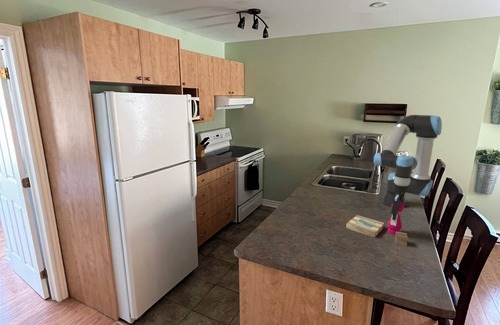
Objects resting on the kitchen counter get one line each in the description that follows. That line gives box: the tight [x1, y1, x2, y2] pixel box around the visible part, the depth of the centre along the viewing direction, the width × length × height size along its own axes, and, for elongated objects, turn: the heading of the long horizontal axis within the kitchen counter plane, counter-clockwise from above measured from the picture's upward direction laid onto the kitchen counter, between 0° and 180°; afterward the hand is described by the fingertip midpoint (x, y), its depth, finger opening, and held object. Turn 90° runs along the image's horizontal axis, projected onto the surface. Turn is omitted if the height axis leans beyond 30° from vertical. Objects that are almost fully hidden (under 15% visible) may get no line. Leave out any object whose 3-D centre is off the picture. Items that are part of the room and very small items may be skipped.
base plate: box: [345, 214, 385, 238], centre depth 158 cm, size 16×16×3 cm
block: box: [394, 231, 409, 247], centre depth 142 cm, size 5×5×5 cm
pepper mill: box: [387, 203, 405, 236], centre depth 151 cm, size 7×7×20 cm
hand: (395, 222), depth 152 cm, fingers closed on pepper mill, 6 cm apart
